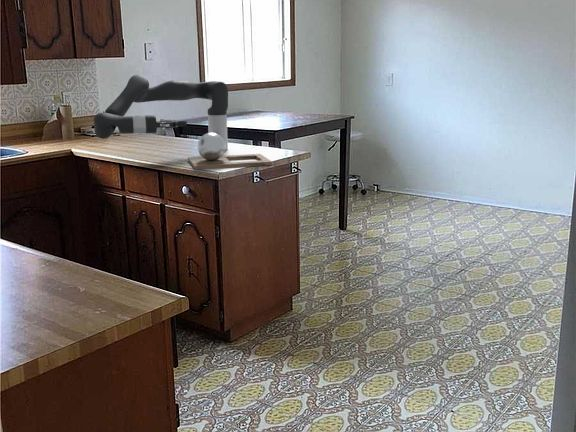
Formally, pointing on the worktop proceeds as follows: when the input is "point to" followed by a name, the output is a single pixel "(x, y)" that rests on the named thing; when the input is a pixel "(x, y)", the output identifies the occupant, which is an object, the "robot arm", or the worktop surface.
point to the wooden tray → (225, 163)
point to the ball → (211, 146)
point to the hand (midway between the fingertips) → (186, 123)
